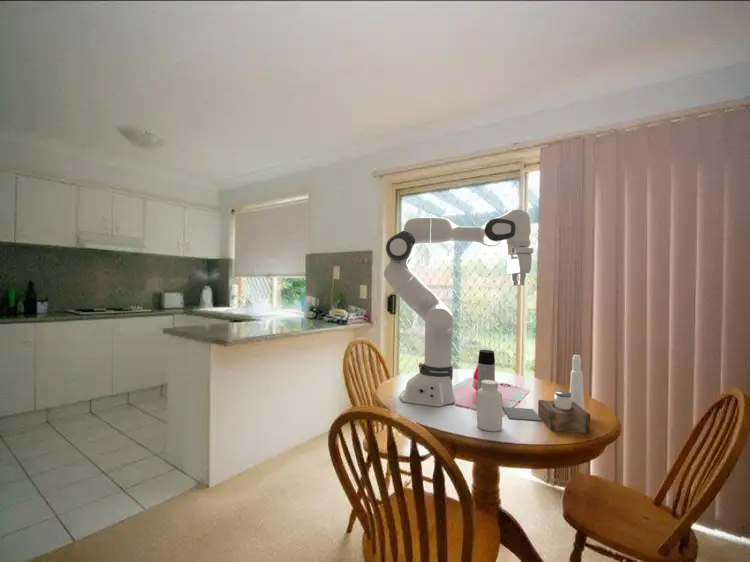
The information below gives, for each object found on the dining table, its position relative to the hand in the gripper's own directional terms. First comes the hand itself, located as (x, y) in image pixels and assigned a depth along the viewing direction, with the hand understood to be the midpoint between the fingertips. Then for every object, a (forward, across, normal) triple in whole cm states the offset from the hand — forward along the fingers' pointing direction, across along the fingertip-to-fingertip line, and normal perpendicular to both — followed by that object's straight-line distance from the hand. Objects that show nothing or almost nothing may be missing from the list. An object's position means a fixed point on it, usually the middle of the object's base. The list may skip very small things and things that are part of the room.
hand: (517, 285), depth 135 cm
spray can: (+48, -4, -11) cm, 49 cm away
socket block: (+48, +18, +10) cm, 52 cm away
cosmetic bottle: (+48, +8, +19) cm, 52 cm away
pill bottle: (+48, +24, -15) cm, 56 cm away
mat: (+48, +10, -1) cm, 49 cm away
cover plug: (+48, +18, +10) cm, 52 cm away
